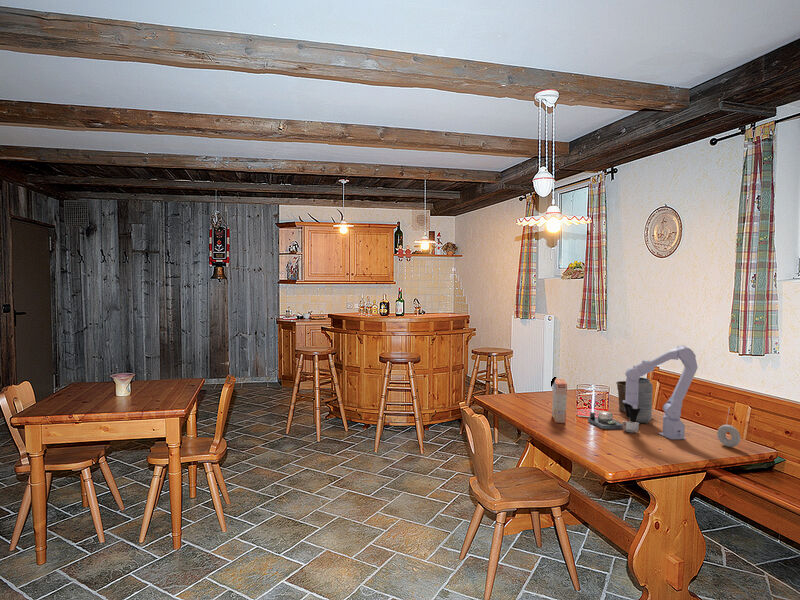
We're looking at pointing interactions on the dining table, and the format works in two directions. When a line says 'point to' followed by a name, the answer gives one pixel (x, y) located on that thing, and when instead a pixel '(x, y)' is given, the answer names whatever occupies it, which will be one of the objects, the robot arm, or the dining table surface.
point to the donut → (734, 433)
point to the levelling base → (604, 425)
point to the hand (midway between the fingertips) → (631, 419)
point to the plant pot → (621, 394)
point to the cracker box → (559, 401)
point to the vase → (644, 400)
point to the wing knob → (630, 426)
